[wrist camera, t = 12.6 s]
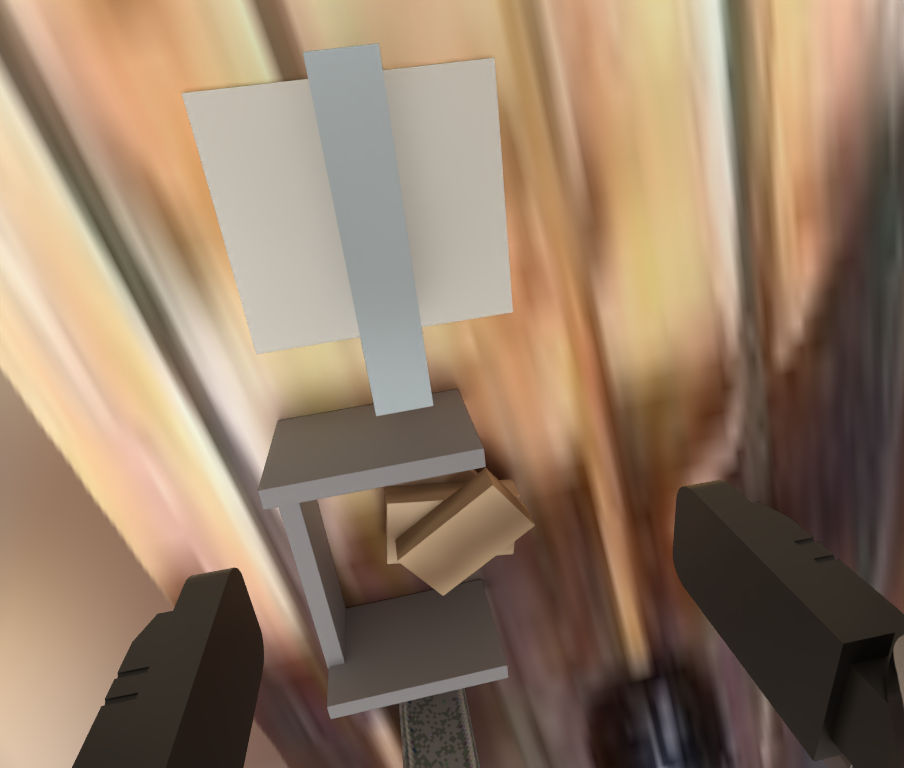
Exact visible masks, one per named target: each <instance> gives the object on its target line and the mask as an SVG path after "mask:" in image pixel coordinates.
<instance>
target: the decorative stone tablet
mask: <svg viewBox="0 0 904 768" xmlns="http://www.w3.org/2000/svg"><path fill="white" fill-rule="evenodd" d="M399 712H400V725H401V738H402V751H403V767H404V768H480V764H479V759H478V754H477V749H476V744H475V738H474V733H473V728H472V723H471V718H470V713H469V708H468V703H467V698H466V693H465V688H462V689H457V690H453V691H449V692H445V693H440V694H436V695H432V696H427V697H423V698H419V699H415V700H410V701H406V702H402V703H399Z"/></svg>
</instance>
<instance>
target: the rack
mask: <svg viewBox="0 0 904 768" xmlns="http://www.w3.org/2000/svg"><path fill="white" fill-rule="evenodd" d="M432 399H433V406H430V407H424V408H419V409H413V410H408V411H402V412H397V413H391V414H386V415H380V416H376V412H375V407H374V404H370V405H364V406H359V407H353V408H347V409H341V410H336V411H330V412H324V413H319V414H313V415H307V416H302V417H296V418H290V419H285V420H279V421H278V422H277V425H276V429H275V432H274V436H273V439H272V443H271V446H270V450H269V453H268V457H267V460H266V464H265V467H264V471H263V474H262V478H261V481H260V485H259V488H258V493H259V496H260V499H261V503H262V506H263V509H264V510H265V509H270V508H275V507H279V510H280V513H281V516H282V520H283V523H284V526H285V529H286V533H287V536H288V539H289V543H290V546H291V549H292V552H293V556H294V559H295V562H296V565H297V569H298V572H299V575H300V578H301V582H302V585H303V588H304V592H305V595H306V598H307V601H308V605H309V608H310V611H311V614H312V618H313V621H314V624H315V628H316V631H317V634H318V637H319V641H320V644H321V647H322V650H323V654H324V657H325V660H326V663H327V667H328V668H329V678H328V698H327V708H328V712H329V715H330V718H331V719H333V718H338V717H342V716H346V715H351V714H355V713H359V712H363V711H368V710H372V709H376V708H380V707H385V706H389V705H393V704H398V703H402V702H406V701H410V700H415V699H419V698H423V697H427V696H432V695H436V694H440V693H445V692H449V691H453V690H457V689H462V688H466V687H470V686H475V685H479V684H483V683H487V682H492V681H496V680H500V679H504V678H508V670H507V664H506V660H505V657H504V654H503V650H502V647H501V643H500V640H499V637H498V633H497V630H496V626H495V623H494V620H493V616H492V613H491V609H490V606H489V603H488V599H487V596H486V593H485V589H484V586H483V582H482V579H481V580H477V581H472V582H467V583H463V584H458V585H457V586H456V587H454V588H453V589H452V590H450V591H449V592H448V593H447V594H445V595H444V596H443V595H441V594H440V593H439V592H437V591H436V590H430V591H425V592H421V593H416V594H411V595H406V596H402V597H397V598H392V599H388V600H383V601H378V602H374V603H369V604H364V605H360V606H355V607H350V608H346V607H345V603H344V599H343V596H342V592H341V588H340V584H339V581H338V577H337V573H336V569H335V566H334V562H333V558H332V555H331V551H330V547H329V543H328V540H327V536H326V532H325V528H324V525H323V521H322V517H321V514H320V510H319V506H318V502H317V499H322V498H327V497H332V496H337V495H343V494H348V493H353V492H358V491H363V490H369V489H374V488H379V487H384V486H389V485H395V484H400V483H405V482H410V481H415V480H421V479H426V478H431V477H436V476H441V475H447V474H452V473H457V472H462V471H467V470H473V469H478V468H483V467H486V465H485V455H484V448H483V445H482V443H481V441H480V438H479V436H478V434H477V432H476V429H475V427H474V425H473V422H472V420H471V418H470V415H469V413H468V411H467V408H466V406H465V404H464V401H463V399H462V397H461V394H460V392H459V390H458V389H455V390H449V391H444V392H438V393H432Z"/></svg>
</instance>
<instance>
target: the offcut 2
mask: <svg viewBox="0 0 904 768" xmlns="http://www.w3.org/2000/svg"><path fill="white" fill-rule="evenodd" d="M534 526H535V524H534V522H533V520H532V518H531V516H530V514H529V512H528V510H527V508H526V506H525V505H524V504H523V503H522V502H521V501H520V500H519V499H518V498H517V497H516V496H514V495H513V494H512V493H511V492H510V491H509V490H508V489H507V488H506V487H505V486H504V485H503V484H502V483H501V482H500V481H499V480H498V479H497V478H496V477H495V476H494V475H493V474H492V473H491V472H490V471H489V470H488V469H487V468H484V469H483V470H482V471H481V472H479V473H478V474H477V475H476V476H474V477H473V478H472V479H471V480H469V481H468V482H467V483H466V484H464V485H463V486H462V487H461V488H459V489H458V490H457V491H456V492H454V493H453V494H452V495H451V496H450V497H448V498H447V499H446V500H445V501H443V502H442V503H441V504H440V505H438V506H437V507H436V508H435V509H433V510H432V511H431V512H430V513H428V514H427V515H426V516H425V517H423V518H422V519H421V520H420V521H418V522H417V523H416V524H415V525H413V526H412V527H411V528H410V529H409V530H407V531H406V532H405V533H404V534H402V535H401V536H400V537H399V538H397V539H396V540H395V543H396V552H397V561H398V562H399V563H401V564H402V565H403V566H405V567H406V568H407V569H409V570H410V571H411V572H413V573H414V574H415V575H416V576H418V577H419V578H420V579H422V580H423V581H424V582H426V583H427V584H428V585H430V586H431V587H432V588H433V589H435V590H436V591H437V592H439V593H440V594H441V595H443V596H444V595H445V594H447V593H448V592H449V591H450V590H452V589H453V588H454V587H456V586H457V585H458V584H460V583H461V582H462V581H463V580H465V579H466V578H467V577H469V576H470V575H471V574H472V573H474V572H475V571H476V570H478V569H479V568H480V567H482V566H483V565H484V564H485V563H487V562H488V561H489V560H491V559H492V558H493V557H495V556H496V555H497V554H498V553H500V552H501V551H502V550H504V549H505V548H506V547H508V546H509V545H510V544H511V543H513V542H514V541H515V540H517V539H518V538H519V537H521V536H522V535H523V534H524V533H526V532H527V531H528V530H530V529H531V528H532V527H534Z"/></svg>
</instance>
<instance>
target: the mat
mask: <svg viewBox="0 0 904 768" xmlns="http://www.w3.org/2000/svg"><path fill="white" fill-rule="evenodd" d="M383 74H384V81H385V88H386V94H387V101H388V108H389V114H390V121H391V128H392V134H393V141H394V147H395V154H396V161H397V167H398V174H399V181H400V187H401V194H402V200H403V207H404V214H405V220H406V227H407V234H408V240H409V247H410V254H411V260H412V267H413V273H414V280H415V287H416V293H417V300H418V307H419V313H420V320H421V326H422V327H426V326H432V325H438V324H444V323H450V322H456V321H462V320H469V319H475V318H481V317H487V316H493V315H499V314H505V313H511V312H513V306H512V292H511V278H510V264H509V250H508V237H507V223H506V209H505V195H504V181H503V167H502V153H501V140H500V126H499V112H498V98H497V84H496V70H495V58H487V59H478V60H470V61H461V62H452V63H443V64H434V65H426V66H417V67H408V68H399V69H390V70H383ZM182 96H183V99H184V103H185V106H186V110H187V113H188V117H189V120H190V124H191V127H192V131H193V134H194V138H195V141H196V145H197V148H198V152H199V155H200V159H201V162H202V166H203V169H204V173H205V176H206V180H207V183H208V187H209V190H210V194H211V197H212V201H213V204H214V208H215V211H216V215H217V218H218V222H219V225H220V229H221V232H222V236H223V239H224V243H225V246H226V250H227V253H228V257H229V260H230V264H231V267H232V271H233V274H234V278H235V281H236V285H237V288H238V292H239V295H240V299H241V302H242V306H243V309H244V313H245V316H246V320H247V323H248V327H249V330H250V334H251V337H252V341H253V344H254V348H255V351H256V354H260V353H267V352H273V351H279V350H285V349H291V348H297V347H303V346H309V345H316V344H322V343H328V342H334V341H340V340H346V339H352V338H358V337H360V333H359V328H358V323H357V318H356V313H355V308H354V303H353V298H352V293H351V288H350V283H349V278H348V274H347V269H346V264H345V259H344V254H343V249H342V244H341V239H340V234H339V229H338V224H337V219H336V214H335V209H334V204H333V199H332V194H331V189H330V184H329V179H328V174H327V169H326V164H325V160H324V155H323V150H322V145H321V140H320V135H319V130H318V125H317V120H316V115H315V110H314V105H313V100H312V95H311V90H310V85H309V80H308V79H303V80H294V81H285V82H276V83H267V84H259V85H250V86H241V87H232V88H223V89H215V90H206V91H197V92H188V93H182Z"/></svg>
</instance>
